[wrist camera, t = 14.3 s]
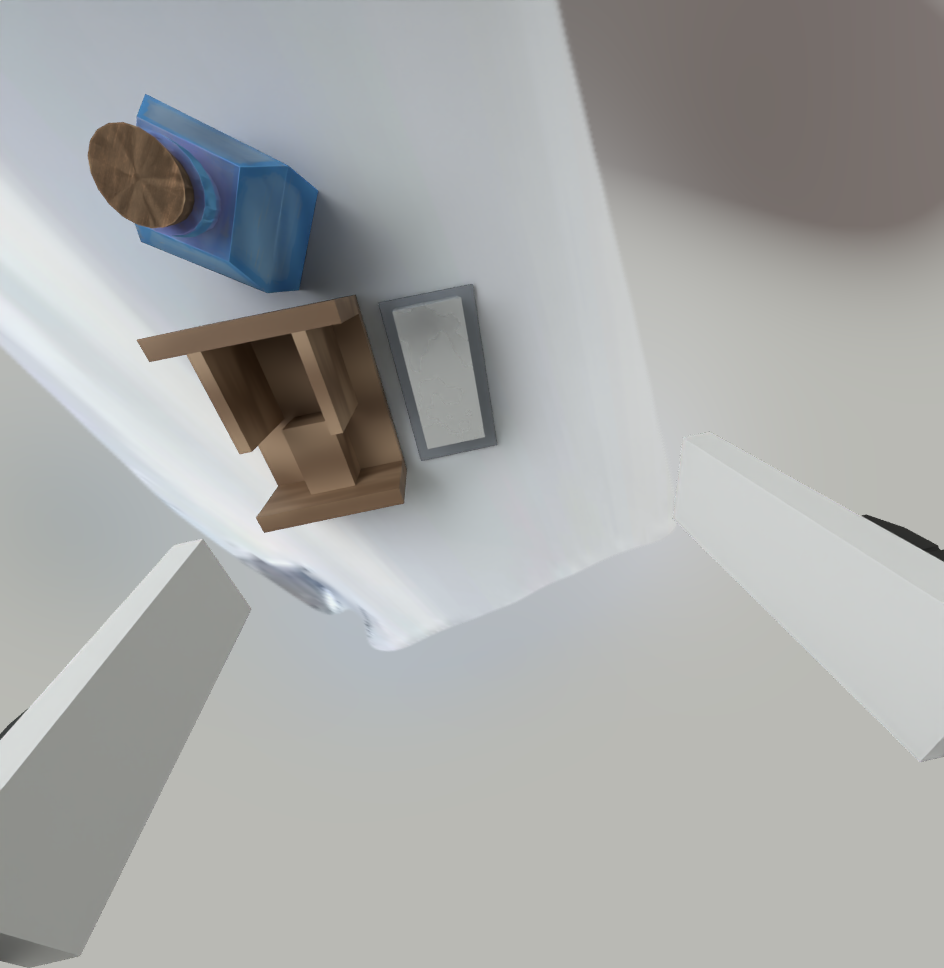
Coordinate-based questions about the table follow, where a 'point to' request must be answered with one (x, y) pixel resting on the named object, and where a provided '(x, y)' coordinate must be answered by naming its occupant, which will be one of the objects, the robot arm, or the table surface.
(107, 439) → the table surface
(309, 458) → the pocket jig
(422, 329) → the bar
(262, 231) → the perfume bottle
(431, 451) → the slate pad
